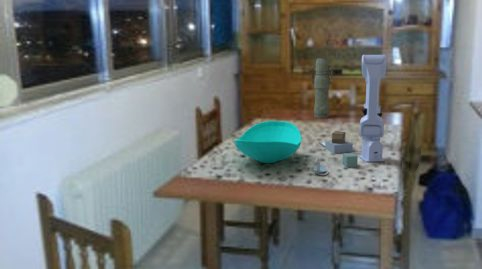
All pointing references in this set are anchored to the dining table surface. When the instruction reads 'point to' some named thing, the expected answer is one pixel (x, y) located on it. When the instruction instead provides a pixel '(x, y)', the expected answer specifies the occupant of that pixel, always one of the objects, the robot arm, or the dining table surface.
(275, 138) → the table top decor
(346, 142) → the slate base block
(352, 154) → the green block
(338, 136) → the walnut block
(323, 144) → the card
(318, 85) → the thermos
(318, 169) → the pacifier
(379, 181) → the dining table surface
